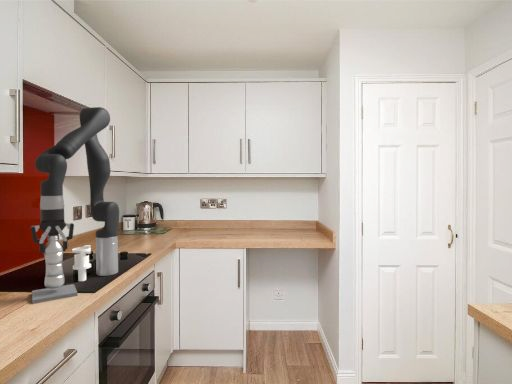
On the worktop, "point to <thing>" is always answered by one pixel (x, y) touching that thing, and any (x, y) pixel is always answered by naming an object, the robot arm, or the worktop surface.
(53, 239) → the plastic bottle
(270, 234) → the worktop surface
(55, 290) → the board
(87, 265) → the white cylindrical piece
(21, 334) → the worktop surface
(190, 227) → the worktop surface
